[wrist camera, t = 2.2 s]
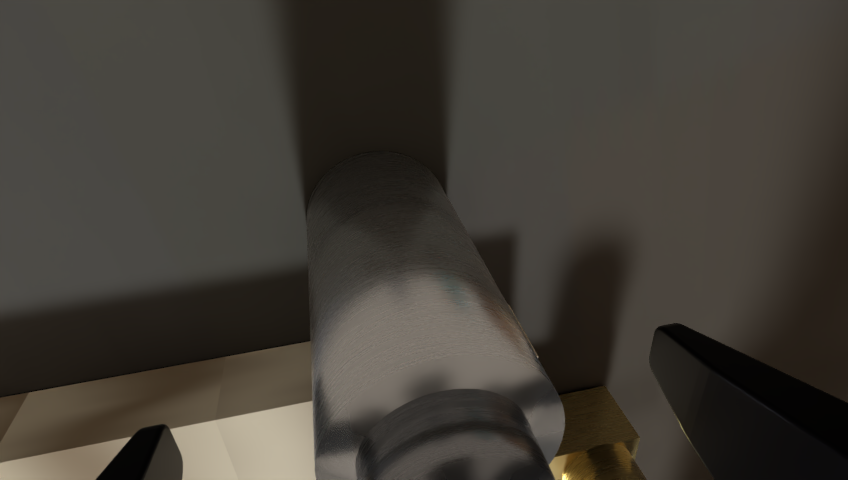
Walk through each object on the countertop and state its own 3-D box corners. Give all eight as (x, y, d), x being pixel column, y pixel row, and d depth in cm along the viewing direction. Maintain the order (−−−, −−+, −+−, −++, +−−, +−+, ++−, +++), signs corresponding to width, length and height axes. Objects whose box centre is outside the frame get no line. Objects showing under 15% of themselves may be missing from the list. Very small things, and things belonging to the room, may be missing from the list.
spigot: (443, 142, 14) (619, 396, 7) (449, 264, 16) (586, 569, 9) (294, 162, 14) (290, 467, 6) (319, 286, 16) (341, 633, 8)
